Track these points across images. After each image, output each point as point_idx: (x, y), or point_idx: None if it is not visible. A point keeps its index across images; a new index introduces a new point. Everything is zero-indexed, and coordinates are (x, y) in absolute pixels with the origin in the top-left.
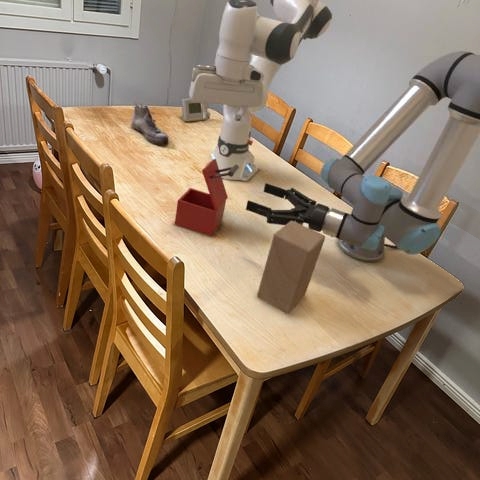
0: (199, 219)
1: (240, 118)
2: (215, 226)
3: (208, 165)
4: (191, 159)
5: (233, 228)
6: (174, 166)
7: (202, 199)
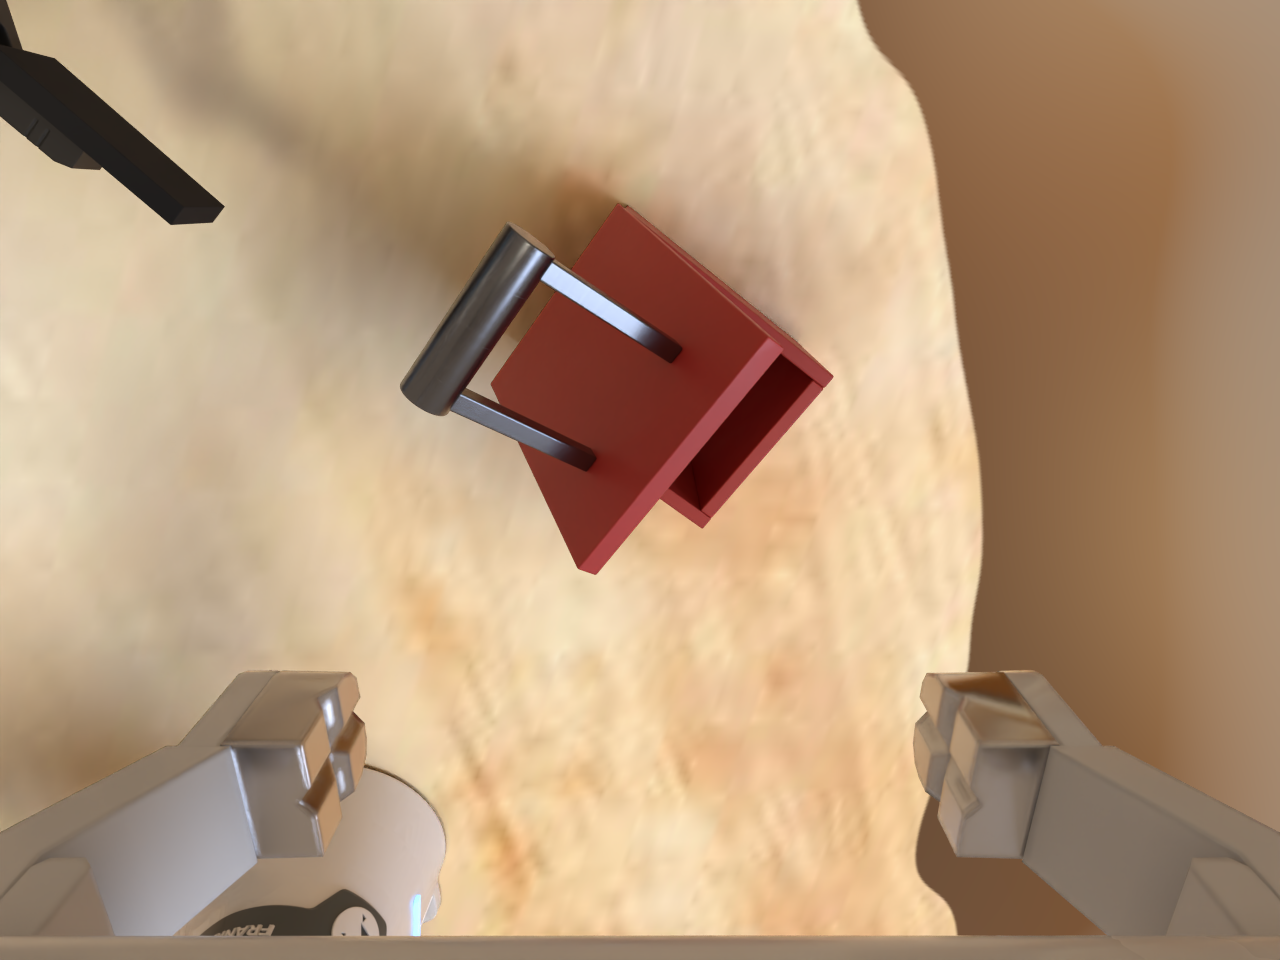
0: (701, 267)
1: (245, 702)
2: None
3: (694, 429)
4: None
5: None
6: (626, 879)
7: None
